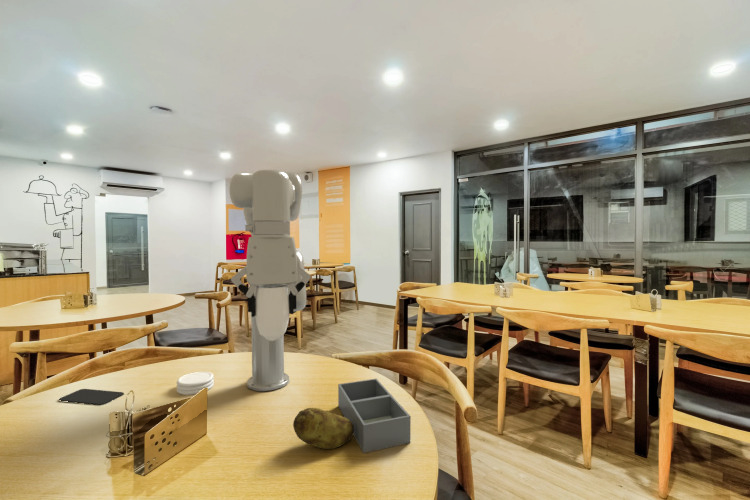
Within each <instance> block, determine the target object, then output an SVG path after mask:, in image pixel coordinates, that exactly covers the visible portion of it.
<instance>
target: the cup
mask: <svg viewBox="0 0 750 500" xmlns="http://www.w3.org/2000/svg"><path fill="white" fill-rule="evenodd" d="M290 315H291V314H290V303H289V294H288V288H287V285H264V286H257V290H256V297H255V318H256V324H257V328H258V330H259V333H260V335H262V336H264V337H265V339H267V340H270V341H274V340H277V339H279V338H280V337H281V335H282V334H285V333H286V332H287V328H288V326H289V321H290Z"/></svg>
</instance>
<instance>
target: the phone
mask: <svg viewBox="0 0 750 500" xmlns="http://www.w3.org/2000/svg"><path fill="white" fill-rule="evenodd" d="M124 395H125V393H124V392H123V391H114V390H103V389H93V388H91V389H89V388H82V389H78V390H75V391H74V392H71V393H69V394H66V395H64V396H61V397H60V398H58V401H59V400H61V401H68V402H77V403H76V404H79V403H84V404H83V405H90V404H93V405H94V406H104V405H106V404H109V403H111V402H113V401H115V400H116V399H118V398H120V397H122V396H124ZM112 400H113V401H112ZM93 405H92V406H93Z"/></svg>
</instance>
